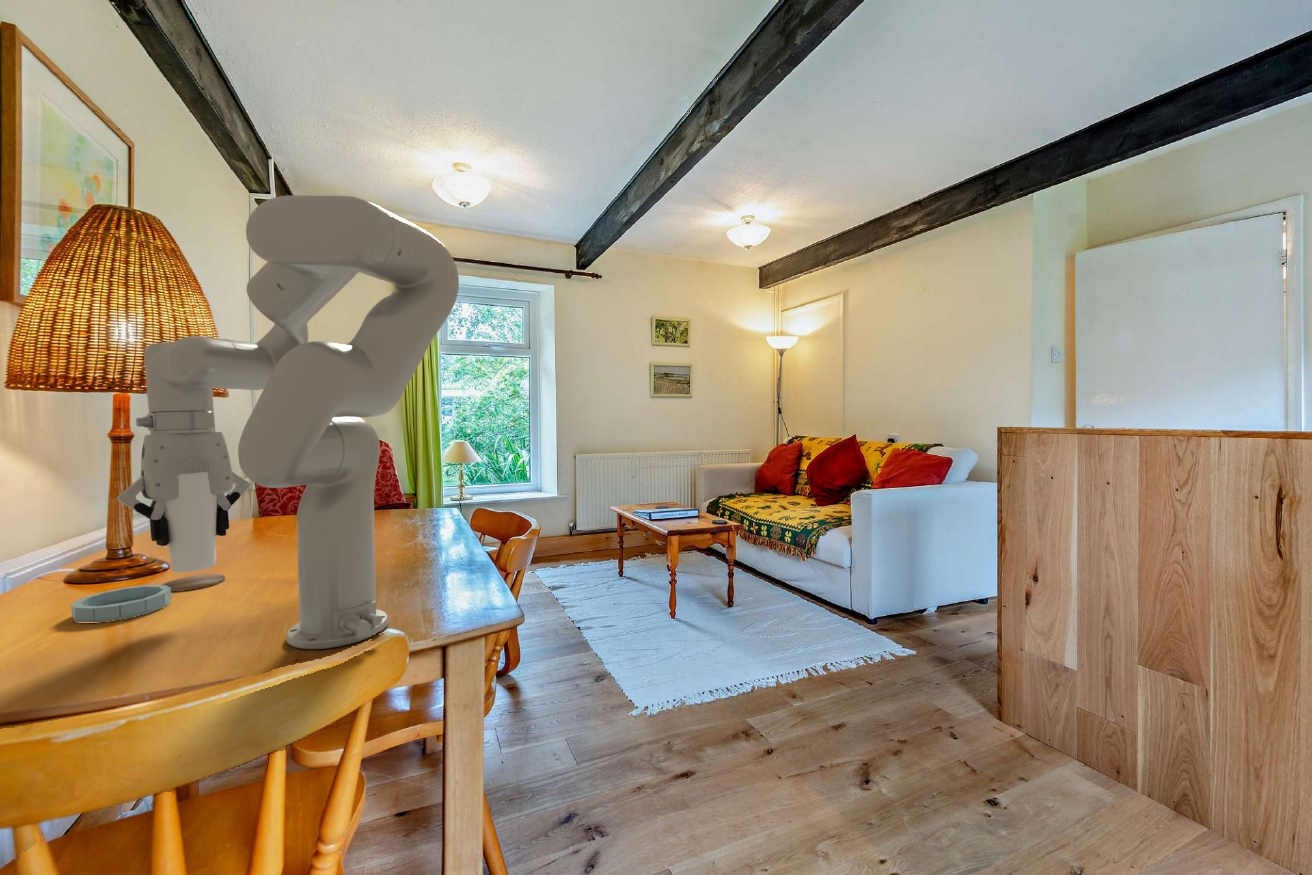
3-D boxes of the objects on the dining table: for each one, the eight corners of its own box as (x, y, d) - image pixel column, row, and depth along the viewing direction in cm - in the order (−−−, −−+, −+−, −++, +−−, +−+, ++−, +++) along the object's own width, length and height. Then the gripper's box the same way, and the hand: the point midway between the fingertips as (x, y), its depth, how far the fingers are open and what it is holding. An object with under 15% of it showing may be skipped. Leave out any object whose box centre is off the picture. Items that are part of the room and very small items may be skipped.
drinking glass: (153, 574, 80) (145, 475, 80) (203, 562, 87) (196, 471, 86) (184, 575, 78) (176, 474, 78) (233, 563, 85) (226, 469, 84)
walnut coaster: (232, 581, 100) (232, 579, 100) (169, 595, 93) (169, 592, 93) (214, 573, 105) (214, 571, 105) (154, 585, 98) (154, 583, 98)
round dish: (179, 606, 87) (179, 592, 87) (82, 629, 78) (81, 613, 78) (158, 594, 93) (158, 581, 93) (66, 614, 84) (65, 599, 84)
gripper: (110, 425, 72) (121, 555, 73) (259, 421, 87) (267, 530, 87) (97, 427, 77) (107, 550, 77) (241, 423, 91) (249, 527, 91)
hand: (192, 538), depth 82 cm, fingers closed on drinking glass, 6 cm apart
